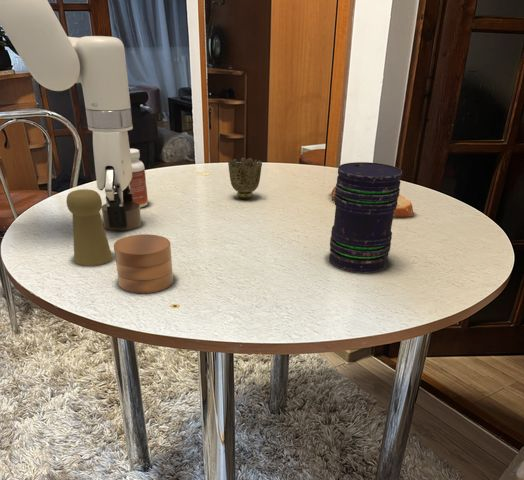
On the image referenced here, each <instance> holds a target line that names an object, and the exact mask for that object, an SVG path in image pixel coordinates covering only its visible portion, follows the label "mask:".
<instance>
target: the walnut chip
mask: <svg viewBox="0 0 524 480" xmlns="http://www.w3.org/2000/svg"><path fill="white" fill-rule="evenodd" d="M123 205H125V209H126V217H127V227H126V228H111V227H110V226H109V219H108V212H107V205H106V203H104V204H102V208H101V214H102V215H101V216H102V223H103V226H104V229H105V230H109V231H115V232H125V231H133V230H136V229H138V228H140V227H141V226H142V217H141V215H142V214H141V208H140V206H139V204H138V203H135V202H130V201H123Z"/></svg>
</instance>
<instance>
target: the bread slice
mask: <svg viewBox="0 0 524 480" xmlns="http://www.w3.org/2000/svg"><path fill="white" fill-rule="evenodd" d="M335 188H336V185H335V186H334V187H333V189H332V191H331V198H332V199H333V200H334V198H335V194H336V193H335ZM397 203H398V204H397V207H396V209H395V210H394V215H393V218H395V219H396V218H399V219H400V218H401V219H402V218H411V217H413V216H414V215H415V212H414V208H413V203H412V200H409V199H408V198H406V197H405V196H403V195H402V194H400V193H399V197H398V201H397Z"/></svg>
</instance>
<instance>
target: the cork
mask: <svg viewBox="0 0 524 480" xmlns="http://www.w3.org/2000/svg"><path fill="white" fill-rule="evenodd" d="M65 202H66V206H67V209H68V211H69V212H70V213H71V214H72V237H73V238H72V239H73V260H74V261H73V262H74V263H75V264H76V265H80V266H85V267H94V266H95V267H96V266H101V265H104V264H107V263H109V262H110V261H112V259H113V254H112V251H111V247H110V244H109V241H108V236H107V234H106V229H105V227H104V222H103V218H102V215H101V212H100V211H102V206H103V201H102V197H101V194H100V193H98V192H97V191H96V190H93V189H86V188H85V189H83V188H82V189H76V190H72V191H70V192H69V193H68V194H67V195H66V201H65Z"/></svg>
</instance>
